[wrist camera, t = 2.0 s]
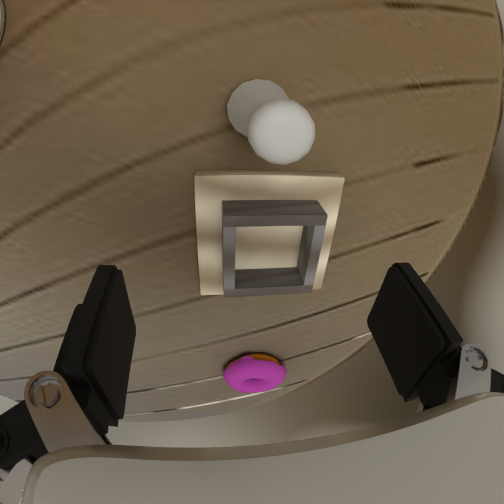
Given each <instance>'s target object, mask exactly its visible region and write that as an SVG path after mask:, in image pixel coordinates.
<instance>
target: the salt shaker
mask: <svg viewBox="0 0 504 504" xmlns="http://www.w3.org/2000/svg"><path fill="white" fill-rule="evenodd" d="M227 111H228V118H229V121H230V122H231V124H232V125H233V127H234V128H235V130H236V131H237V132H239V133H241V134H243V135H244V136H246V137H248V141H249V143H250V145H251V147H252V148H253V150H254V151H255V153H256V154H257V155H258V156H260V157H262V158H263V159H265V160H267V161H268V162H270V163H274V164H282V165H286V164H289V163H292V162H295V161H299V160H300V159H301V158H302V157H303V156H304V155H306V154H307V153H308V152H309V151H310V149H311V146H312V144H313V142H314V140H315V124H314V122H313V121H312V119H311V117H310V115H309V113H308V111H307V110H306V109H305V108H303V107H302V106H301V105H299V104H298V103H296V102H295V101H292V100H289V99H288V97H287V95H286V94H285V92H284V90H283V89H282V88H281V87H279V86H278V85H276V84H275V83H273V82H272V81H269V80H261V79H255V80H251V81H248V82H244V83H242V84H241V85H240V86H239V87H238V88H237V89H236V90H235V91H234V92H233V93H232V94H231V97H230V99H229V102H228V104H227Z"/></svg>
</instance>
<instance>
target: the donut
mask: <svg viewBox="0 0 504 504" xmlns="http://www.w3.org/2000/svg"><path fill="white" fill-rule="evenodd" d="M280 363H281V364H282V365H280ZM280 363H279V362H278V361H277V360H276V359H275V358H273V357H271V356H269V355H266V354H258V353H256V354H249V355H246V356H243V357H240V358H238V359H236V360H234V361H232V362H231V363H229V365H228V366H227V368H226V370H225V371H224V372H223V377H224V379H225V381H226V382H227V384H228V385H230V386H231V387H232V388H233V389H235V390H237V391H241V392H246V393H257V392H264V391H268V390H271V389H273V388H275V387H276V386H278V385H279V384H280V383H281V382H282V381H283V380H284V378H285V376H286V373H287V370H286V369H285V367H284V366H283V363H282V361H280Z"/></svg>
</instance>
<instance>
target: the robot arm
mask: <svg viewBox="0 0 504 504" xmlns="http://www.w3.org/2000/svg"><path fill="white" fill-rule="evenodd" d="M4 22H5V11H4V5H3V2H2V0H0V41H1V38H2V34H3V30H4ZM367 324H368V327H369V329H370V331H371V333H372V336H373V338H374V340H375V342H376V344H377V346H378V348H379V350H380V353H381V354H382V357H383V359H384V361H385V363H386V366H387V368H388V370H389V372H390V375H391V377H392V379H393V381H394V384H395V386H396V388H397V391H398V393H399V394H400V395H402V396H403V398H404V401H405V402H407V401H411V400H414V399H416V398H417V397H419V398H420V403H419V407H418V410H417V413H415V414H412V415H409V416H406V417H402V418H399V419H395V420H392V421H388V422H385V423H381V424H377V425H373V426H370V427H365V428H361V429H357V430H352V431H348V432H343V433H338V434H333V435H328V436H323V437H316V438H310V439H304V440H297V441H290V442H282V443H273V444H263V445H251V446H239V447H213V448H169V447H166V448H165V447H145V446H126V445H112V443H111V442H110V441H109V439H108V438H107V436H106V435H105V434H107V433H108V426H116V427H117V426H118V419H123V416H124V410H125V402H126V394H127V386H128V379H129V373H130V366H131V360H132V354H133V348H134V342H135V336H136V326H135V322H134V318H133V315H132V311H131V307H130V303H129V299H128V295H127V290H126V286H125V282H124V277H123V273H122V270H117V267H116V266H115V265H99V266H98V267H97V269H96V272H95V274H94V277H93V279H92V281H91V284H90V286H89V289H88V291H87V294H86V296H85V299H84V301H83V304H78V305H77V306H76V308H75V310H74V312H73V315H72V317H71V320H70V323H69V325H68V328H67V331H66V334H65V337H64V339H63V342H62V345H61V348H60V351H59V354H58V357H57V360H56V363H55V367H54V370H53V371H50V370H49V371H41V372H39V373H36V374H35V375H34V376H32V377H31V378H30V380H29V381H28V382H27V384H26V387H25V390H24V398H25V400H23V401H21V402H20V403H19V404H17V405H15V406H14V407H12V408H11V409H9V410H8V411H6V412H5V413H3V414H2V415H0V504H18V503H19V501H20V498H21V497H22V502H21V504H504V375H503V374H501V373H499V372H497V371H496V370H494V369H492V368H491V360H490V358H489V356H488V354H487V353H486V351H485V350H484V349H483V348H481V347H480V346H478V345H476V344H467V345H465V346H464V347H463V348H461V347H460V344H461V343H462V342H463V339H462V338H461V336H460V335H459V333H458V331H457V330H456V328H455V327H454V325H453V324H452V322H451V321H450V319H449V318H448V316H447V315H446V313H445V312H444V310H443V309H442V307H441V306H440V305H439V303H438V302H437V300H436V299H435V297H434V296H433V295H432V293H431V292H430V290H429V289H428V288H427V286H426V285H425V284H424V282H423V281H422V279H421V278H420V277H419V275H418V274H417V273H416V271H415V270H414V269H413V268H412V266H411V265H410V264H409V263H394V264H393V265H392V267H390V268H389V269H388V271H387V274H386V276H385V279H384V281H383V284H382V286H381V288H380V291H379V293H378V296H377V298H376V300H375V303H374V305H373V307H372V309H371V312H370V314H369V316H368V319H367ZM23 489H24V490H23Z"/></svg>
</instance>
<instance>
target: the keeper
mask: <svg viewBox="0 0 504 504" xmlns="http://www.w3.org/2000/svg"><path fill="white" fill-rule="evenodd" d="M344 179H345V178H344V177H343V176H342V175H341V174H340V173H333V172H312V171H279V170H216V171H195V174H194V183H195V208H196V229H197V246H198V262H199V276H200V289H201V295H219V294H224V297H241V296H261V295H279V294H295V293H309V292H312V289H321V286H322V282H323V278H324V274H325V269H326V265H327V261H328V257H329V252H330V248H331V243H332V239H333V234H334V230H335V225H336V220H337V215H338V210H339V205H340V200H341V195H342V190H343V184H344Z"/></svg>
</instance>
